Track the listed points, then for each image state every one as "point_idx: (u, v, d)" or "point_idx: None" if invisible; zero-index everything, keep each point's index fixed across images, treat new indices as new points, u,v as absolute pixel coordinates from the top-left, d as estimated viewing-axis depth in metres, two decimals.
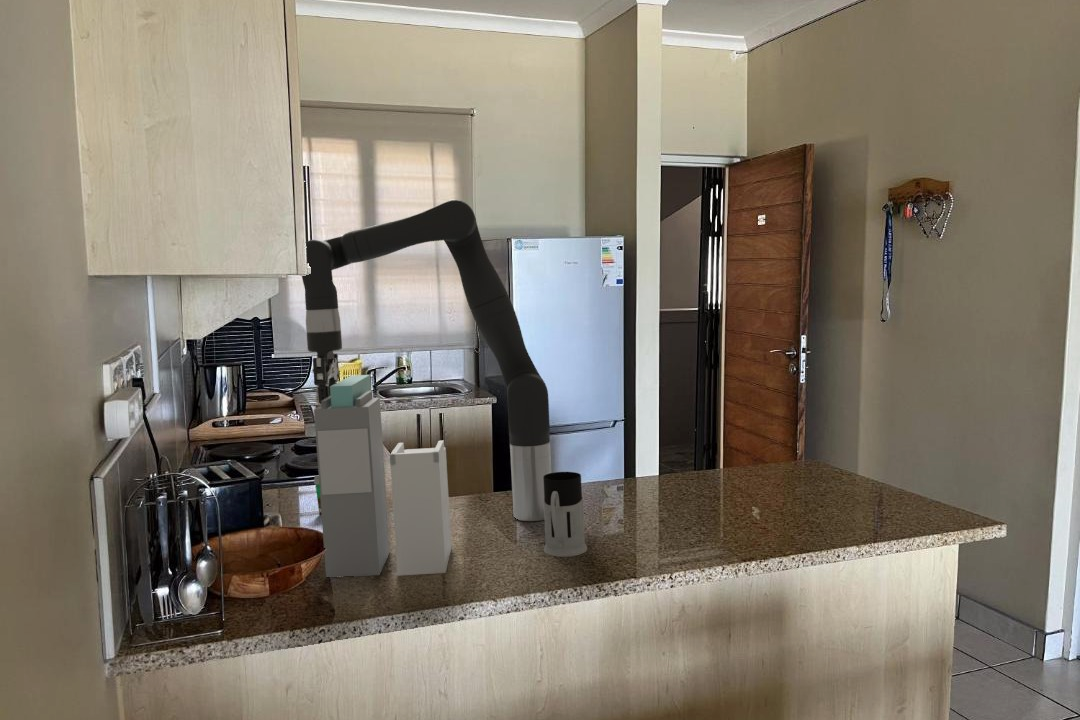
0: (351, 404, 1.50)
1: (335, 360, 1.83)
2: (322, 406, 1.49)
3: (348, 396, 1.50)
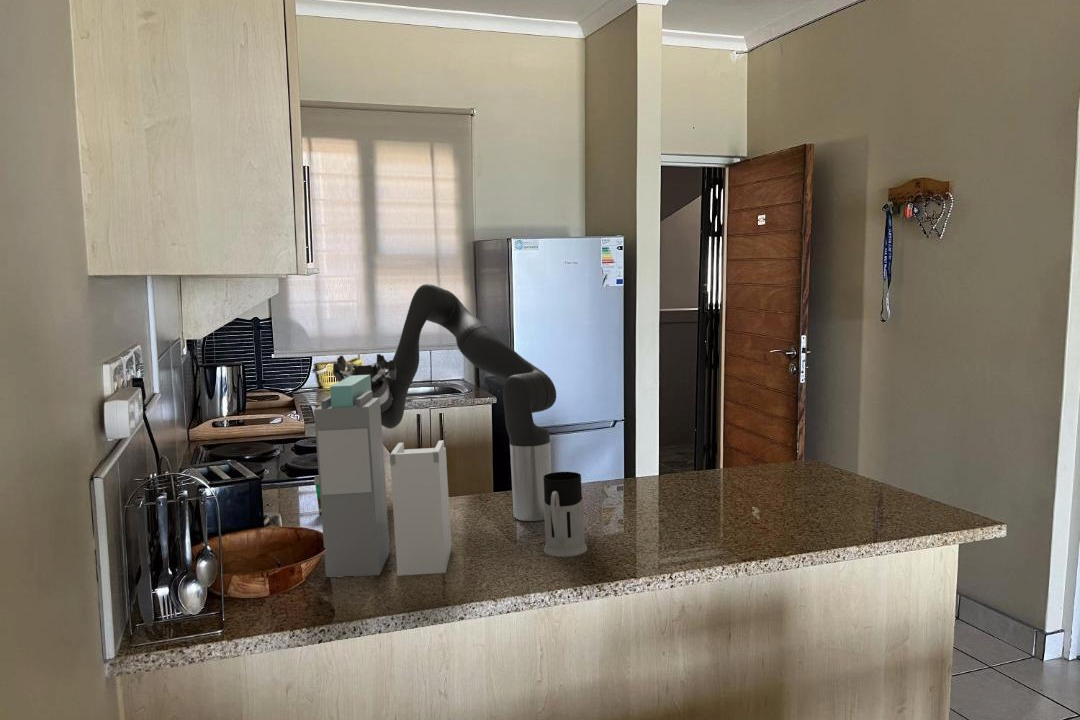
0: (351, 404, 1.50)
1: None
2: (322, 406, 1.49)
3: (348, 396, 1.50)
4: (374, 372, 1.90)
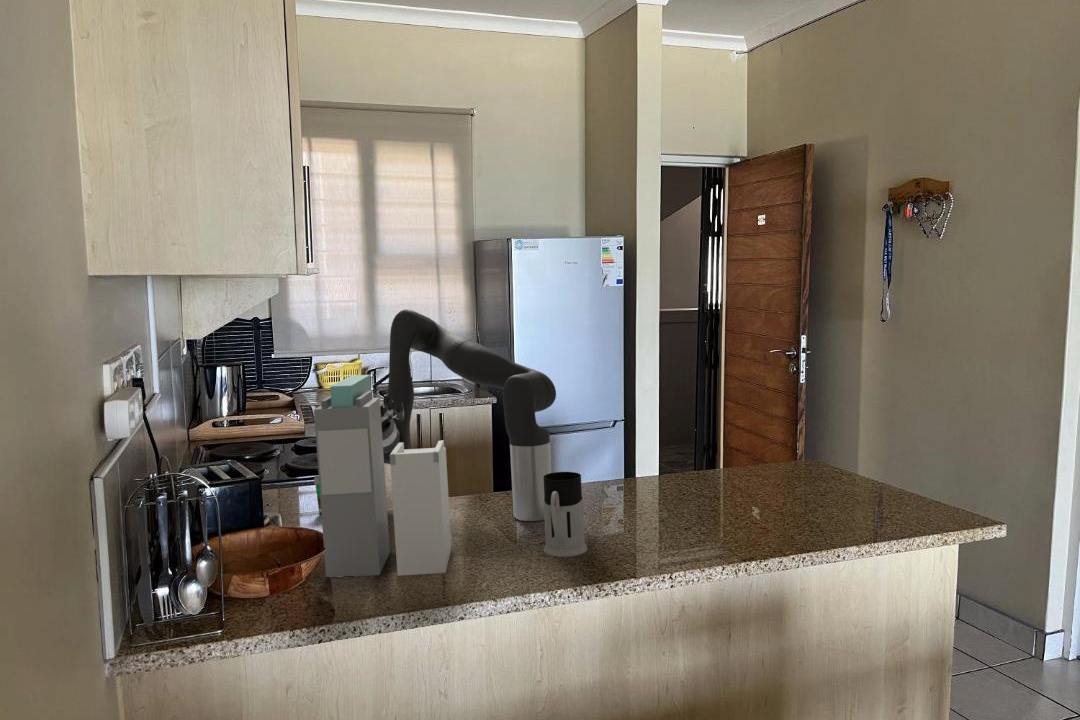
0: (351, 404, 1.50)
1: None
2: (322, 406, 1.49)
3: (348, 396, 1.50)
4: (381, 413, 1.80)
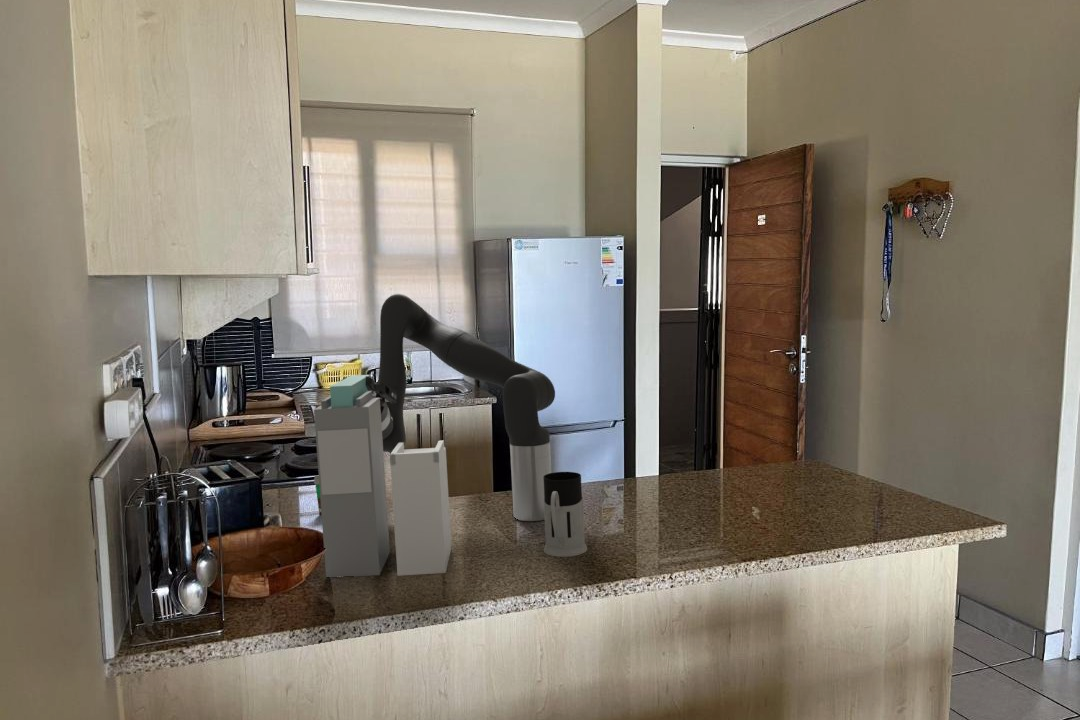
0: (351, 404, 1.50)
1: None
2: (322, 406, 1.49)
3: (348, 396, 1.50)
4: None
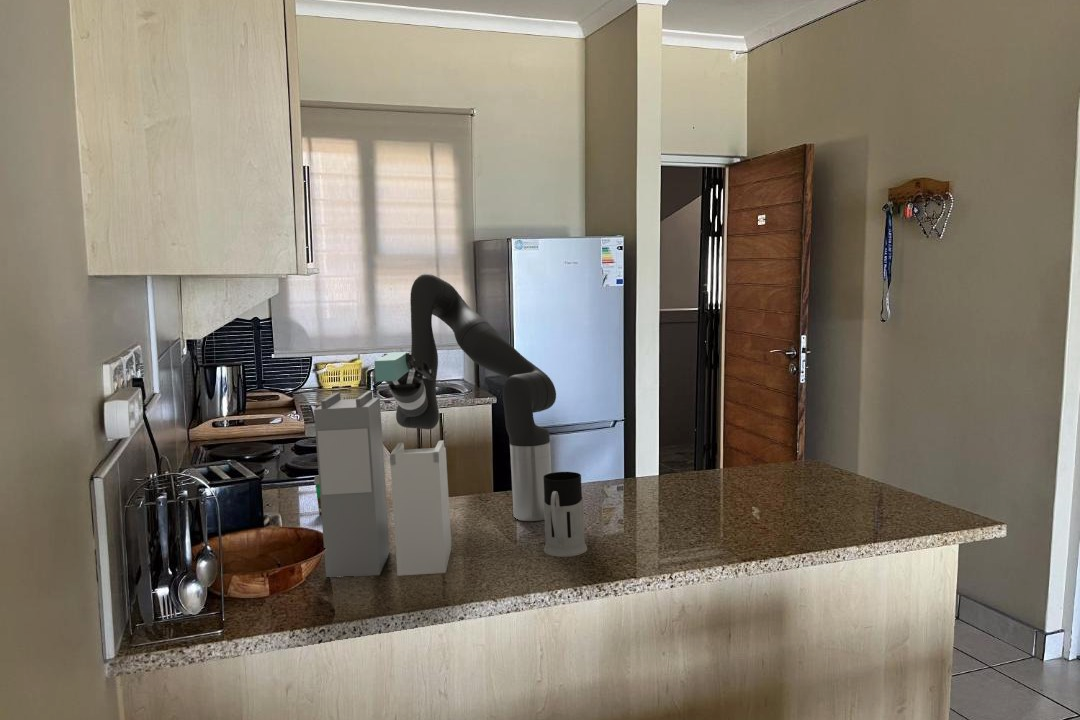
0: (394, 378, 1.56)
1: None
2: (322, 406, 1.49)
3: (392, 370, 1.55)
4: (407, 374, 1.76)
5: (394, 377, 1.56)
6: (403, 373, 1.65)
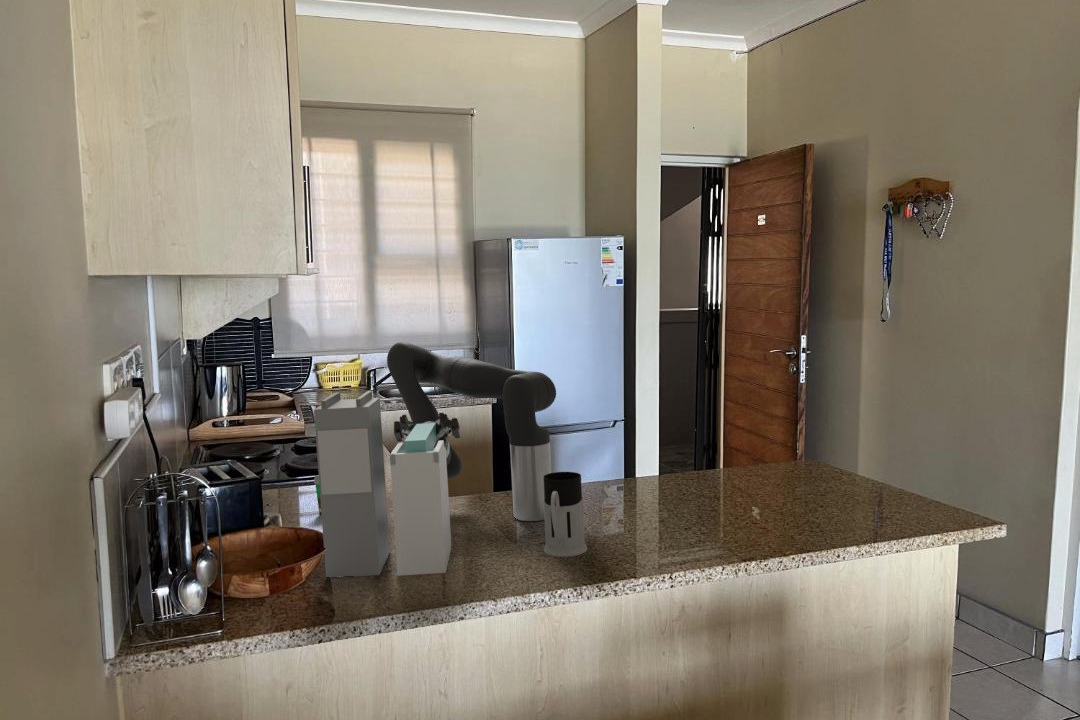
0: None
1: None
2: (322, 406, 1.49)
3: (422, 450, 1.52)
4: (436, 431, 1.72)
5: None
6: (431, 449, 1.62)
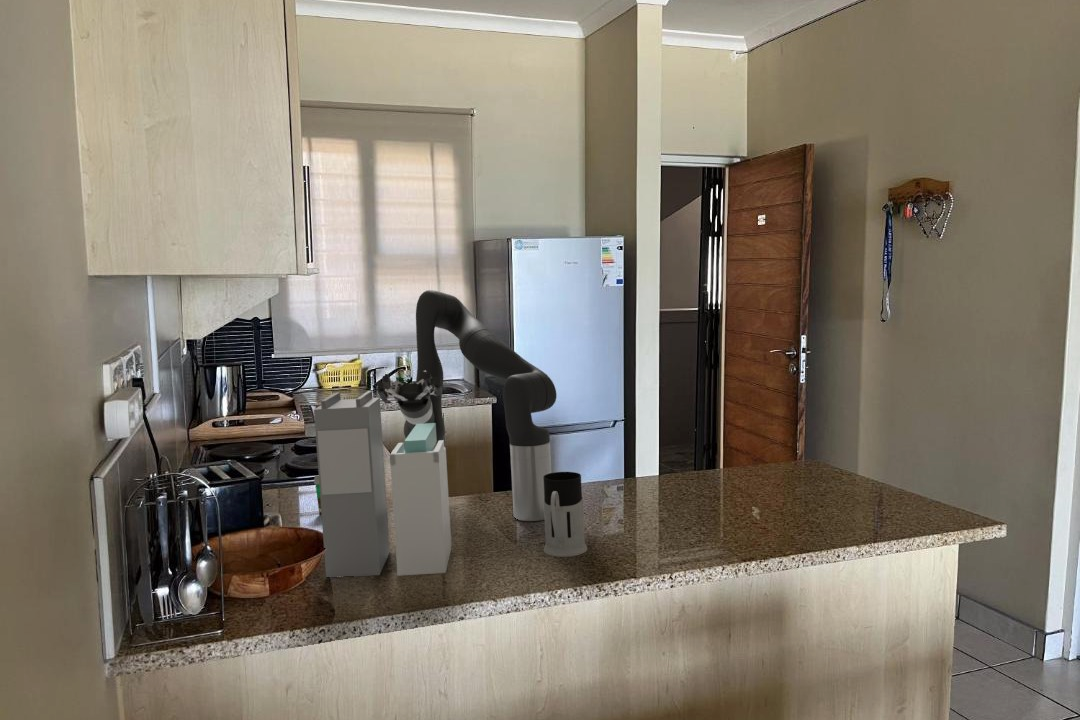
0: None
1: None
2: (322, 406, 1.49)
3: (422, 450, 1.52)
4: (419, 390, 1.85)
5: None
6: (431, 449, 1.62)
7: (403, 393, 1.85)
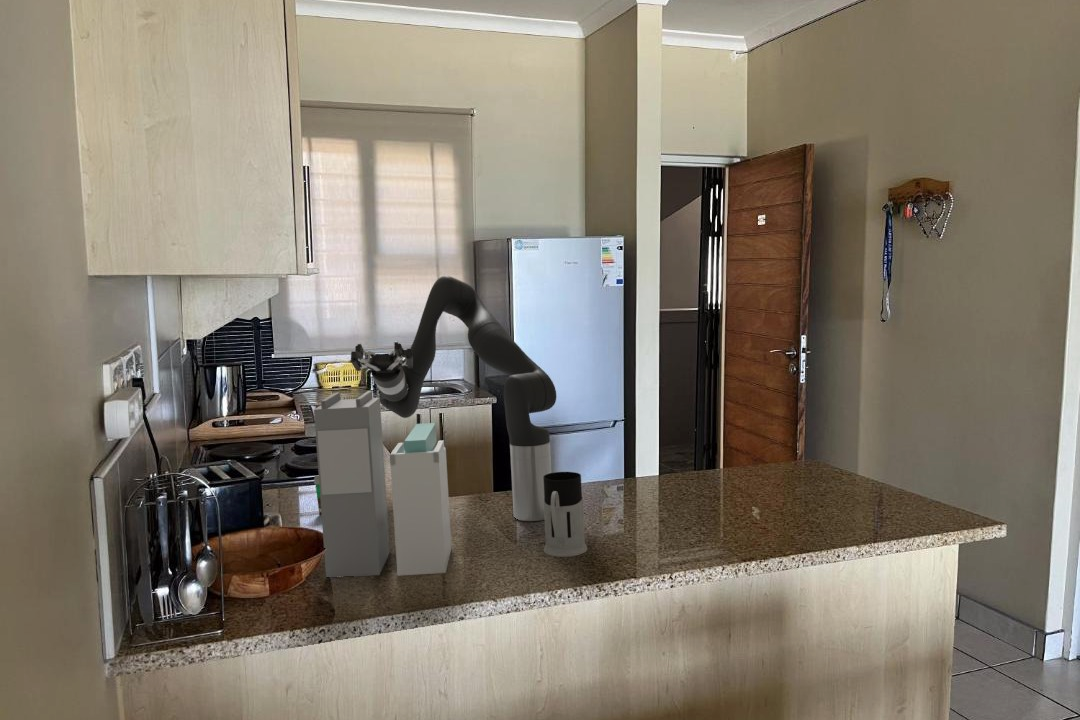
0: None
1: None
2: (322, 406, 1.49)
3: (422, 450, 1.52)
4: (391, 360, 1.93)
5: None
6: (431, 449, 1.62)
7: (376, 363, 1.93)
